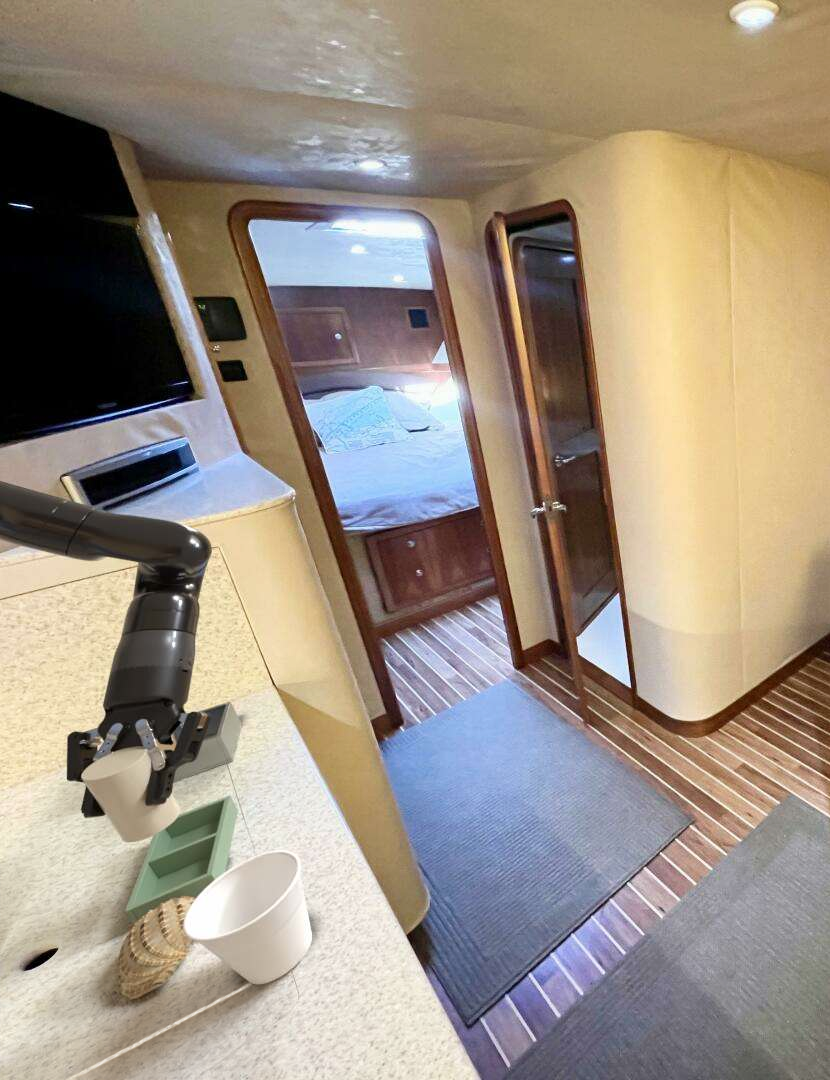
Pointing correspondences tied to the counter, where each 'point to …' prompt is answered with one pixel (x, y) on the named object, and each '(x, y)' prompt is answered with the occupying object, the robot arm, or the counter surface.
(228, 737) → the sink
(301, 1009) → the counter surface
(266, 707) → the counter surface
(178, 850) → the divided tray
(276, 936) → the cup
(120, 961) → the seashell
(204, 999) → the counter surface
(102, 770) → the cream round block
